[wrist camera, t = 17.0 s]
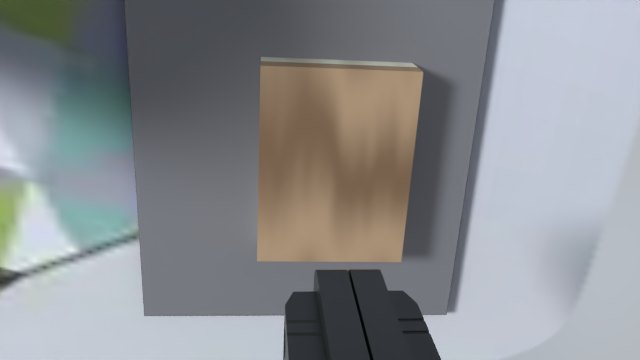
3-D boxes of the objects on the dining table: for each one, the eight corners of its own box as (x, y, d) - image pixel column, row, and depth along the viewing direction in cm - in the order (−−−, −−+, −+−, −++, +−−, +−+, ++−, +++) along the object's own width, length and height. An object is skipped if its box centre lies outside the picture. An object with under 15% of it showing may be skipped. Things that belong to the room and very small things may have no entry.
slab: (260, 65, 22) (423, 72, 22) (260, 56, 23) (412, 62, 24) (256, 261, 24) (401, 262, 25) (257, 240, 26) (392, 242, 27)
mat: (123, -67, 22) (119, -67, 21) (495, -46, 23) (501, -46, 23) (146, 308, 28) (144, 315, 27) (442, 307, 29) (446, 314, 28)
